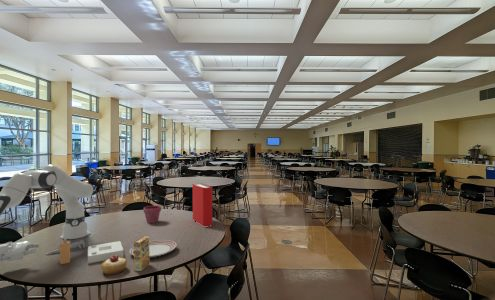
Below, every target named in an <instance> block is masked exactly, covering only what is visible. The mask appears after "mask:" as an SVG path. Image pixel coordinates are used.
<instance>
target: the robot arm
mask: <svg viewBox="0 0 495 300" xmlns="http://www.w3.org/2000/svg"><path fill="white" fill-rule="evenodd" d="M51 187H54V188H56V190H55V191H56V195H57V196H58V197H60V198H61V200H62V201H63V203H64V205H65V206H64V207H65V224H64V225H63V226H62V235H60V236H59V239H60V240H61V239H62V240H64V239H66V240H74V239H81V238H84V237H86V236H90V235H91V232H90V230H88V222H86V218H85V217H86V216H85V205H84V204H83V203H82V202H80V201H79V200H80V199H84V198H85V199H86V198H89V197H91V196H92V195H93V192H94V186H93V185H92V184H91V183H89V182H88V183H87V182H84V181H82V180H80V179H78V178H75V177H73V176H71V175H70V174H69V173H68V172H66V171H65V170H63V169H62V168H60V167H58V166H57V165H54V164H47V165H44V166H43V167H42V168H41V169H36V170H35V169H34V170H33V169H32V170H30V169H28V170H23V171H20V172H17V173H15V174H13V176H11V177H10V178H9V179H8V181H7V182H6V183H5V184H4V185H3V187H2V189H0V190H1V191H0V217H1V216H2V214H3V213H4V212H5V211H6V210H7V209H10V208H15V207H17V206H19V205H20V204H21V203H22V201H23V200H25V199H24V198H25V197H26V196H27V194H28V192H29V189H49V188H51ZM39 247H40V243H31V241H27V240H25V241H15V242H13V241H8V242H7V241H6V242H5V243H0V263H5V262H10V261H11V262H12V261H19V260H22V259H23V258H24V257H25V256H29V255H32V254H35V253H37V248H39Z"/></svg>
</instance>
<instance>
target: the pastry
mask: <svg viewBox="0 0 495 300" xmlns="http://www.w3.org/2000/svg"><path fill="white" fill-rule="evenodd" d="M127 262H128V260H127V259H126V258H125V257H124V256H123V257H119V258H118V256H117V255H114V256H112V257H111V258H110V259H108V260H104V261H102V263H101V271H102V273H104V274H105V275H116V274H119V273H122V272H123V271H124V270H125V269H126V267H127V264H128V263H127Z"/></svg>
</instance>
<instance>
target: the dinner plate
mask: <svg viewBox="0 0 495 300" xmlns="http://www.w3.org/2000/svg"><path fill="white" fill-rule="evenodd" d="M177 247H178V246H177V243H176V241H173V240H169V239H168V240H167V239H156V240H149V256H150V259H152V258H157V256H158V257H161V255H162V256H164V255H167V254H169V253H170V252H173V251H174V250H175V249H176V248H177ZM128 251H129V254H130V255H132V256H134V246H133V247H132V248H130V249H129V250H128Z"/></svg>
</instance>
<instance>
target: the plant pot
mask: <svg viewBox="0 0 495 300" xmlns="http://www.w3.org/2000/svg"><path fill="white" fill-rule="evenodd" d="M161 211H162V207H161V206H160V205H148V206H144V207H143V213H144V217H145V221H146V223H147V224H155V222H156V223H158V222H159V218H160V214H161Z"/></svg>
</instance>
